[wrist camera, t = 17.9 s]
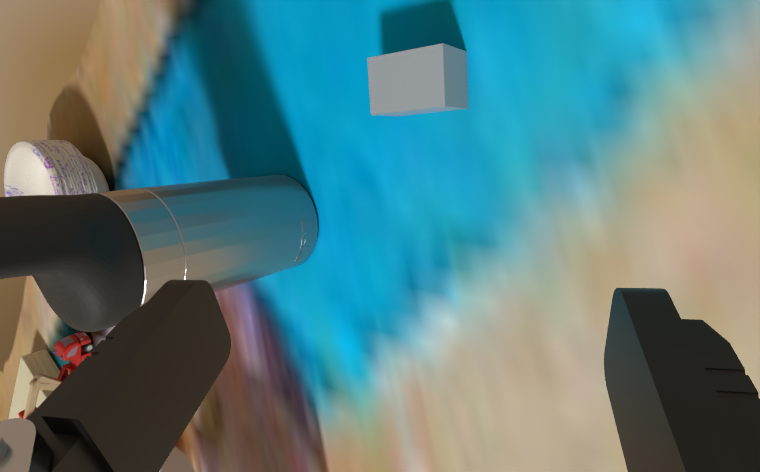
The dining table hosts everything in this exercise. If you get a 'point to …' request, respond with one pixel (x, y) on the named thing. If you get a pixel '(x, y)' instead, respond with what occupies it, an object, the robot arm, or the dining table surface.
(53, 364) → the puzzle box
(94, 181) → the paper bowls
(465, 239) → the dining table surface
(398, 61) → the light gray block
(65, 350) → the toy fire truck
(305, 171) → the dining table surface
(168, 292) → the robot arm
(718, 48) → the dining table surface
